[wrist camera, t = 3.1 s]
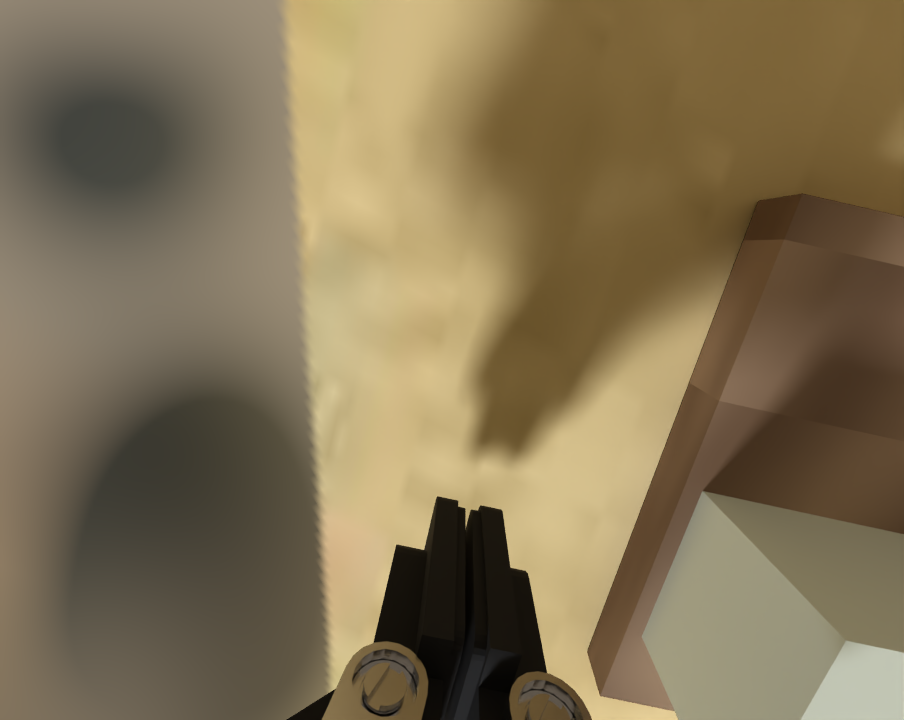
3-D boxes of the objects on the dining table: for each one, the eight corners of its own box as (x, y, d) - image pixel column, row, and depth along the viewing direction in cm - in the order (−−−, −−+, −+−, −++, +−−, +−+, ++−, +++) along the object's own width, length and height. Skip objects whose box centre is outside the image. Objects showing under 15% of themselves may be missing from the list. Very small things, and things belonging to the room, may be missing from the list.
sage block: (917, 537, 12) (1190, 713, 7) (836, 677, 13) (1024, 898, 8) (702, 490, 11) (846, 640, 7) (641, 636, 13) (731, 839, 8)
